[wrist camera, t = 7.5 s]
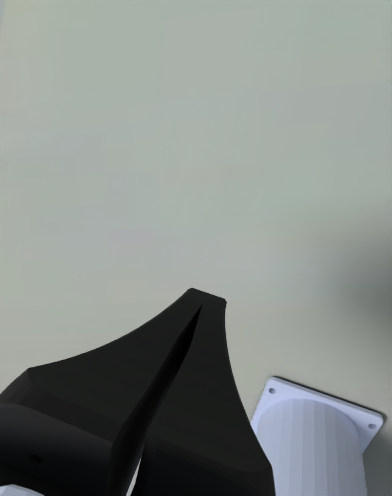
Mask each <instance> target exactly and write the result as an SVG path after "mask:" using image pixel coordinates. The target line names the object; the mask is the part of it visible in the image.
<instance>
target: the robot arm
mask: <svg viewBox="0 0 392 496" xmlns="http://www.w3.org/2000/svg"><path fill="white" fill-rule="evenodd" d="M226 304H227V302H226V300H225V299H224V298H221V297H218V296H215V295H212V294H209V293H206V292H203V291H200V290H197V289H194V288H190V289H188V290H187V291H186V292H185V293H184V294H183V295H182V296H181V297H180V298H179V299H177V300H176V301H175V302H174V303H173V304H171V305H170V306H169V307H168V308H166V309H165V310H164V311H162V312H161V313H160V314H158V315H157V316H156V317H154V318H153V319H151V320H149V321H148V322H146V323H145V324H143V325H142V326H140V327H139V328H137V329H135V330H133V331H132V332H130V333H128V334H126V335H124V336H122V337H121V338H119V339H117V340H114V341H112V342H110V343H108V344H106V345H103V346H101V347H99V348H96V349H94V350H91V351H89V352H86V353H83V354H80V355H77V356H74V357H71V358H68V359H65V360H61V361H57V362H53V363H49V364H45V365H40V366H36V367H31V368H28V369H27V370H26V371H25V372H23V373H22V374H21V375H20V376H19V377H18V378H16V379H15V380H14V381H13V382H12V383H11V384H10V385H9V386H8V387H7V388H6V389H5V390H4V391H3V392H2V393H1V394H0V496H126V494H127V491H128V489H129V486H130V484H131V481H132V478H133V476H134V473H135V471H136V468H137V466H138V463H139V461H140V458H141V461H140V465H139V470H138V474H137V478H136V482H135V486H134V488H133V490H132V493H131V495H130V496H368V495H367V488H366V480H365V472H364V465H363V457H362V453H363V452H364V451H365V449H366V448H367V446H368V445H369V443H370V442H371V440H372V439H373V438H374V436H375V435H376V433H377V432H378V430H379V429H380V427H381V426H382V424H383V418H382V416H381V415H380V414H379V413H376V412H373V411H371V410H368V409H365V408H362V407H359V406H356V405H353V404H350V403H348V402H345V401H342V400H339V399H336V398H333V397H330V396H328V395H325V394H322V393H319V392H316V391H313V390H310V389H307V388H305V387H302V386H299V385H296V384H293V383H290V382H287V381H285V380H282V379H279V378H275V377H271V378H269V379H268V381H267V383H266V386H265V388H264V391H263V393H262V396H261V398H260V400H259V403H258V405H257V408H256V410H255V413H254V415H253V418H252V420H251V422H249V420H248V417H247V414H246V412H245V409H244V407H243V404H242V402H241V399H240V396H239V393H238V390H237V387H236V384H235V380H234V377H233V373H232V369H231V365H230V360H229V354H228V348H227V341H226V331H225V309H226ZM270 388H273V389H274V390H273V389H270ZM141 456H142V457H141Z"/></svg>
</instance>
